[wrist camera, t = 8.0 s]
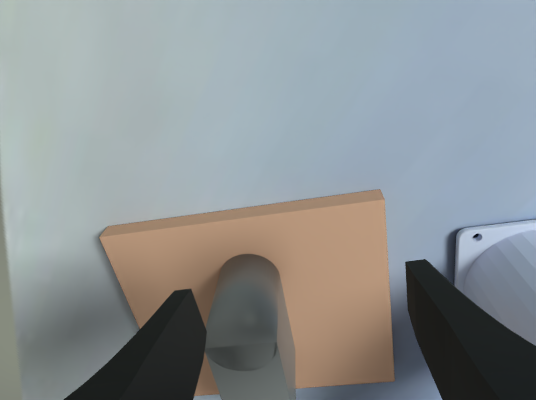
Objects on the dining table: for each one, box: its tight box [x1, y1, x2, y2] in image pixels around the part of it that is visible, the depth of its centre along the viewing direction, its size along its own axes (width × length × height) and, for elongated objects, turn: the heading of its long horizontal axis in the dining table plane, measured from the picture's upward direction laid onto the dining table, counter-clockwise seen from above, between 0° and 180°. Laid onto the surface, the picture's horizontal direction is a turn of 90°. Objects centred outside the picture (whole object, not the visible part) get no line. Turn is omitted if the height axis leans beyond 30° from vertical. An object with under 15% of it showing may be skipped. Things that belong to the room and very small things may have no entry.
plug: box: [205, 254, 296, 400], centre depth 23 cm, size 4×11×5 cm, turn 10°
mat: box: [99, 189, 395, 396], centre depth 25 cm, size 16×14×1 cm
